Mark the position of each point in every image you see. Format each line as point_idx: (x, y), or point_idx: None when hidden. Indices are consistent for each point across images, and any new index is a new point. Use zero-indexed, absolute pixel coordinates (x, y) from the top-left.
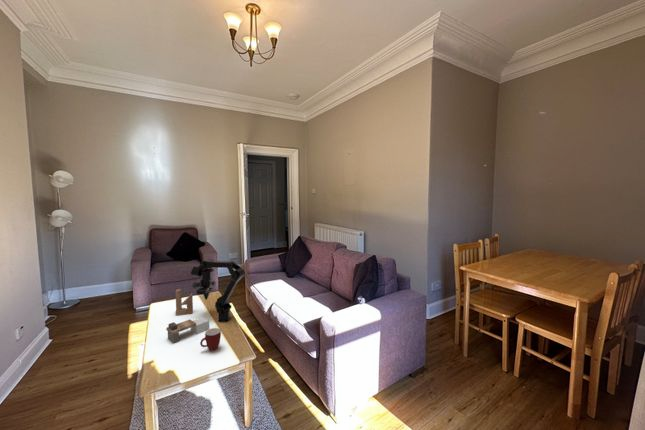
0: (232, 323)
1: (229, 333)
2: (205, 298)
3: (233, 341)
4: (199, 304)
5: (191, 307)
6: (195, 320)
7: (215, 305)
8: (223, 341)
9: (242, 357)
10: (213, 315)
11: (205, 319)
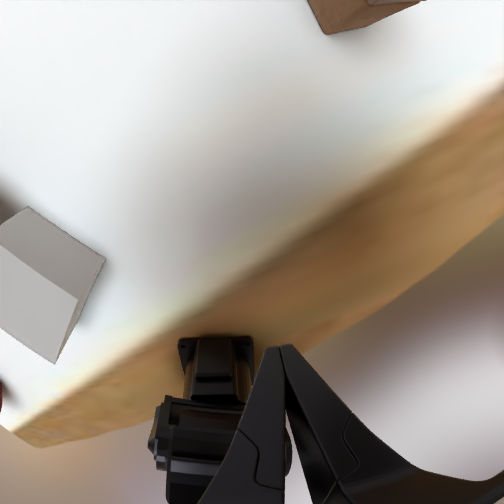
0: None
1: (88, 410)
2: (260, 370)
3: (54, 423)
4: (487, 54)
5: (344, 10)
6: (10, 267)
7: (169, 437)
8: (35, 400)
9: (20, 437)
10: (289, 260)
11: (54, 336)
